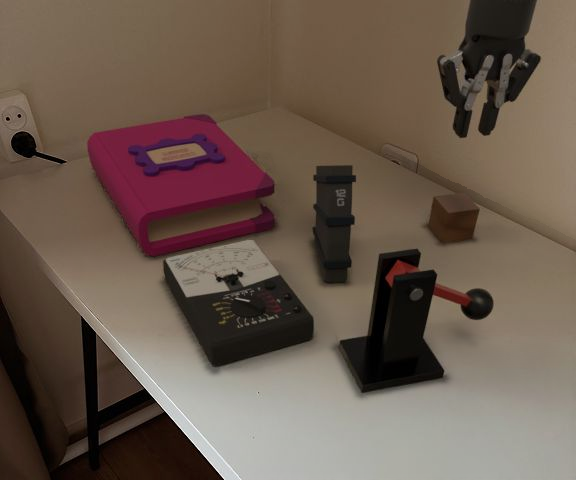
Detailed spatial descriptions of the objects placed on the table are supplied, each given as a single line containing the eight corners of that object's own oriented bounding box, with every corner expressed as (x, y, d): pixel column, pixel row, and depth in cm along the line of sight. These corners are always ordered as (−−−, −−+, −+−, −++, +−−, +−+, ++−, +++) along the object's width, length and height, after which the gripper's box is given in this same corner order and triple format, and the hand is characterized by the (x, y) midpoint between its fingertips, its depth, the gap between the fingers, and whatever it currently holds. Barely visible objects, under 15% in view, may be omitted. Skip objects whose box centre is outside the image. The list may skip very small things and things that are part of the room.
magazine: (326, 287, 83) (326, 166, 78) (312, 272, 95) (311, 166, 90) (354, 286, 83) (356, 165, 78) (337, 271, 95) (337, 165, 90)
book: (143, 260, 89) (135, 211, 84) (92, 174, 107) (83, 129, 101) (278, 227, 96) (278, 180, 91) (209, 152, 114) (206, 109, 108)
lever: (470, 310, 75) (490, 286, 74) (485, 329, 73) (505, 305, 71) (379, 278, 68) (398, 251, 66) (392, 298, 66) (412, 270, 64)
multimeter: (212, 370, 73) (210, 337, 70) (163, 280, 86) (159, 248, 82) (314, 341, 78) (316, 308, 74) (253, 259, 90) (253, 228, 86)
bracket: (414, 334, 79) (435, 237, 69) (442, 378, 73) (469, 279, 64) (338, 347, 77) (349, 249, 67) (361, 393, 71) (376, 293, 62)
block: (457, 222, 99) (464, 192, 95) (472, 239, 95) (480, 208, 92) (427, 226, 98) (433, 196, 94) (441, 243, 94) (448, 212, 91)
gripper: (466, -2, 70) (436, 151, 82) (577, -7, 73) (532, 141, 85) (436, -19, 75) (412, 127, 87) (541, -23, 78) (504, 119, 90)
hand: (472, 133), depth 86 cm, fingers open, 3 cm apart
